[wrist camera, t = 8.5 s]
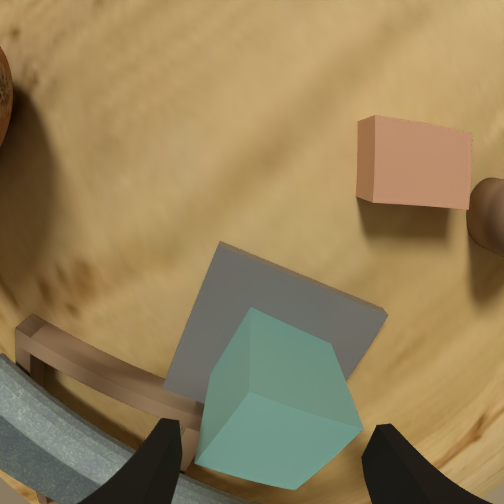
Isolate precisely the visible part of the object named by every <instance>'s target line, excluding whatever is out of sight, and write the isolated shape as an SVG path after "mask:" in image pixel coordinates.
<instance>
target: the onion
mask: <svg viewBox="0 0 504 504" xmlns="http://www.w3.org/2000/svg"><path fill="white" fill-rule="evenodd" d="M12 105H13V83H12V76H11V71H10V68H9V64H8V61H7V58H6V56H5V54H4V52H3V50H2V49H1V47H0V148H1V145H2V143H3V140H4V137H5V134H6V131H7V129H8V125H9V122H10V117H11V112H12Z"/></svg>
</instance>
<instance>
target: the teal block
mask: <svg viewBox="0 0 504 504" xmlns="http://www.w3.org/2000/svg"><path fill="white" fill-rule="evenodd" d="M362 430H363V426H362V423H361V420H360V418H359V415H358V412H357V410H356V407H355V404H354V402H353V399H352V396H351V394H350V391H349V388H348V386H347V383H346V381H345V378H344V375H343V373H342V370H341V368H340V365H339V363H338V360H337V358H336V355H335V352H334V350H333V347H332V345H331V343H329V342H326V341H324V340H322V339H320V338H317V337H315V336H313V335H311V334H308V333H306V332H304V331H302V330H300V329H297V328H295V327H293V326H291V325H289V324H286V323H284V322H282V321H280V320H278V319H275V318H273V317H271V316H269V315H267V314H265V313H263V312H260V311H258V310H256V309H254V308H252V307H250V309H249V311H248V312H247V314H246V316H245V317H244V319H243V321H242V323H241V324H240V326H239V328H238V329H237V331H236V333H235V334H234V336H233V338H232V339H231V341H230V343H229V344H228V346H227V348H226V349H225V351H224V353H223V354H222V356H221V358H220V359H219V361H218V363H217V364H216V366H215V368H214V369H213V371H212V372H211V374H210V379H209V384H208V389H207V395H206V400H205V406H204V411H203V417H202V422H201V428H200V433H199V439H198V444H197V450H196V456H195V461H194V464H197V465H200V466H203V467H206V468H209V469H212V470H215V471H218V472H222V473H225V474H228V475H232V476H235V477H239V478H242V479H246V480H250V481H254V482H258V483H262V484H266V485H271V486H275V487H280V488H285V489H290V490H296V489H297V488H298V487H300V486H301V485H302V484H303V483H305V482H306V481H307V480H308V479H310V478H311V477H312V476H313V475H314V474H315V473H317V472H318V471H319V470H320V469H321V468H322V467H324V466H325V465H326V464H327V463H328V462H329V461H330V460H331V459H333V458H334V457H335V456H336V455H337V454H338V453H339V452H340V451H341V450H342V449H343V448H344V447H345V446H347V445H348V444H349V443H350V442H351V441H352V440H353V439H354V438H355V437H356V436H357V435H358V434H359V433H360V432H361V431H362Z"/></svg>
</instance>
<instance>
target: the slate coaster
mask: <svg viewBox="0 0 504 504" xmlns="http://www.w3.org/2000/svg"><path fill="white" fill-rule="evenodd" d="M250 307H252V308H254V309H256V310H258V311H260V312H263V313H265V314H267V315H269V316H271V317H273V318H275V319H278V320H280V321H282V322H284V323H286V324H289V325H291V326H293V327H295V328H297V329H300V330H302V331H304V332H306V333H308V334H311V335H313V336H315V337H317V338H320V339H322V340H324V341H326V342H329V343H331V345H332V347H333V350H334V352H335V355H336V358H337V360H338V363H339V365H340V368H341V370H342V373H343V375H344V378H345V381H346V380H347V379H348V377H349V376H350V374H351V373H352V371H353V370H354V368H355V367H356V366H357V364H358V363H359V361H360V360H361V358H362V357H363V355H364V354H365V352H366V350H367V349H368V347H369V346H370V344H371V343H372V341H373V340H374V338H375V336H376V335H377V333H378V332H379V330H380V328H381V327H382V325H383V323H384V322H385V320H386V318H387V317H388V314H387V313H386V312H385V310H384V309H383V308H381V307H378V306H376V305H374V304H371V303H369V302H366V301H364V300H361V299H359V298H357V297H354V296H352V295H349V294H347V293H345V292H342V291H340V290H337V289H335V288H332V287H330V286H328V285H325V284H323V283H320V282H318V281H315V280H313V279H311V278H308V277H306V276H303V275H301V274H299V273H296V272H294V271H291V270H289V269H286V268H284V267H282V266H279V265H277V264H274V263H272V262H270V261H267V260H265V259H262V258H260V257H258V256H255V255H253V254H250V253H248V252H245V251H243V250H241V249H238V248H236V247H233V246H231V245H229V244H226V243H224V242H221V241H220V242H219V245H218V247H217V249H216V252H215V254H214V257H213V259H212V262H211V264H210V267H209V269H208V271H207V274H206V276H205V279H204V281H203V284H202V286H201V289H200V291H199V294H198V296H197V299H196V301H195V304H194V306H193V309H192V311H191V314H190V317H189V319H188V322H187V324H186V327H185V329H184V332H183V335H182V337H181V340H180V342H179V345H178V348H177V350H176V353H175V355H174V358H173V361H172V363H171V366H170V369H169V371H168V374H167V377H166V379H165V382H164V385H163V387H162V388H164V389H166V390H169V391H171V392H174V393H176V394H179V395H182V396H184V397H187V398H190V399H193V400H195V401H198V402H201V403H204V404H205V400H206V395H207V389H208V384H209V379H210V374H211V372H212V371H213V369H214V368H215V366H216V364H217V363H218V361H219V359H220V358H221V356H222V354H223V353H224V351H225V349H226V348H227V346H228V344H229V343H230V341H231V339H232V338H233V336H234V334H235V333H236V331H237V329H238V328H239V326H240V324H241V323H242V321H243V319H244V317H245V316H246V314H247V312H248V311H249V309H250Z"/></svg>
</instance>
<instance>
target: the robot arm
mask: <svg viewBox="0 0 504 504" xmlns="http://www.w3.org/2000/svg"><path fill="white" fill-rule="evenodd" d="M182 455H183V452H182V442H181V433H180V422H179V420H174V419H168V418H161V419H160V420H159V422H158V423H157V425H156V426H155V428H154V429H153V430H152V432H151V433H150V435H149V436H148V437H147V439H146V440H145V441H144V442H143V444H142V445H141V446H140V447H139V448H138V450H137V451H136V452H135V453H134V454H133V456H132V457H131V458H130V459H129V460H128V461H127V462H126V463H125V464H124V465H123V466H122V467H121V468H120V469H119V470H118V471H117V472H116V473H115V474H114V475H113V476H112V477H111V478H110V479H109V480H108V481H107V482H105V483H104V484H103V485H102V486H101V487H99V488H98V489H97V490H96V491H94V492H93V493H91V494H90V495H89V496H87V497H86V498H84V499H83V500H82V501H80V502H78V503H77V504H171V503H172V499H173V496H174V492H175V489H176V485H177V482H178V478H179V474H180V468H181V461H182ZM361 458H362V465H363V472H364V478H365V482H366V485H367V488H368V492H369V495H370V498H371V502H372V504H492V503H489V502H487V501H485V500H483V499H481V498H479V497H477V496H475V495H473V494H471V493H470V492H468V491H466V490H465V489H463V488H461V487H460V486H458V485H457V484H456V483H454V482H453V481H451V480H450V479H448V478H447V477H446V476H445V475H443V474H442V473H441V472H440V471H439V470H437V469H436V468H435V467H434V466H433V465H432V464H431V463H429V462H428V461H427V460H426V459H425V458H424V457H423V456H422V455H421V454H420V453H419V452H418V451H417V450H416V449H415V448H414V447H413V446H412V445H411V444H410V443H409V442H408V441H407V440H406V439H405V438H404V437H403V436H402V434H401V433H400V432H399V431H398V430H397V429H396V428H395V427H394V426H393V425H392V424H382V425H377V426H376V428H375V430H374V432H373V434H372V436H371V439H370V441H369V443H368V445H367V447H366V449H365V451H364V453H363V455H362V457H361Z"/></svg>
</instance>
